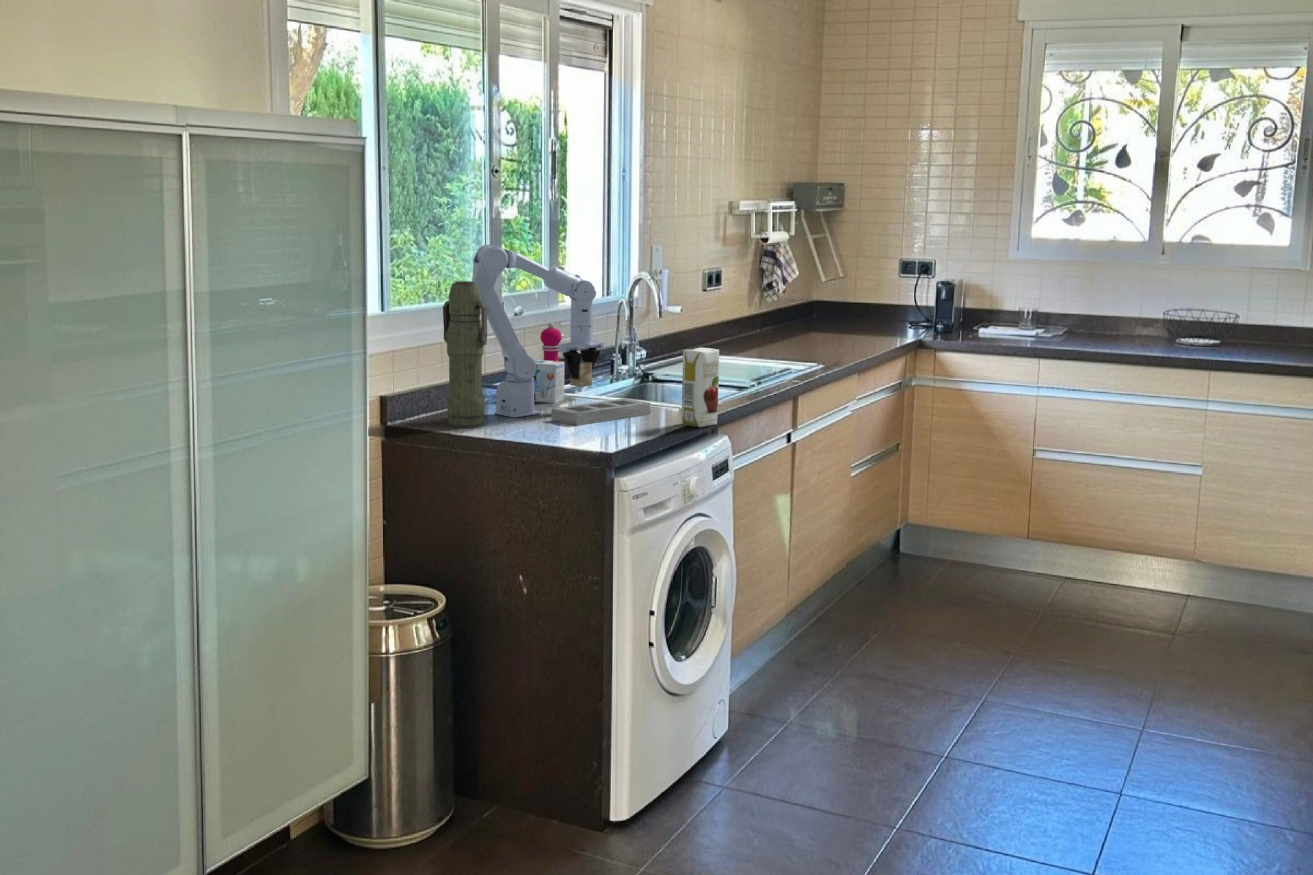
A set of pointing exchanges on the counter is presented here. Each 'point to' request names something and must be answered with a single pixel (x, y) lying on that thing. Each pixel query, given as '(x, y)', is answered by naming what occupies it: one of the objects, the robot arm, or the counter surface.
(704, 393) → the juice carton
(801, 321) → the counter surface
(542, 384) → the light bulb box
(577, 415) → the rail
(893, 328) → the counter surface
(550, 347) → the pepper mill
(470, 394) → the thermos
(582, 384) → the peg
